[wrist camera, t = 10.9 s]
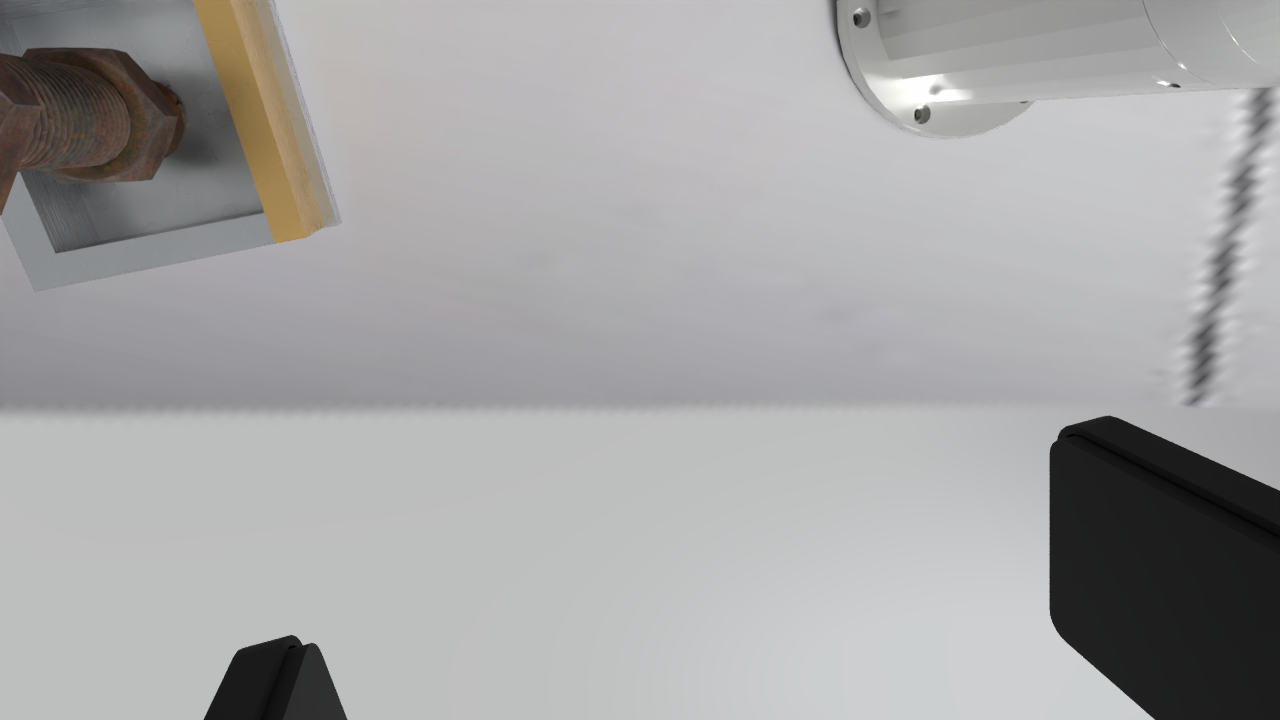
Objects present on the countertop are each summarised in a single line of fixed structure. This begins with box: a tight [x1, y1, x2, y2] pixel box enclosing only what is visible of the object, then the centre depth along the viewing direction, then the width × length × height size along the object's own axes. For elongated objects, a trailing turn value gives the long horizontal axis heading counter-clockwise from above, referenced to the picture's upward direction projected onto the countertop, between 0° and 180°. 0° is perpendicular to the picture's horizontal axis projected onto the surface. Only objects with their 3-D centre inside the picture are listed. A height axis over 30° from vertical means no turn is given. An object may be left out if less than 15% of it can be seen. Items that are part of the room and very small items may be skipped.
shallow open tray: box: [0, 0, 342, 292], centre depth 29 cm, size 11×11×4 cm
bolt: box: [0, 47, 188, 215], centre depth 23 cm, size 6×5×15 cm
